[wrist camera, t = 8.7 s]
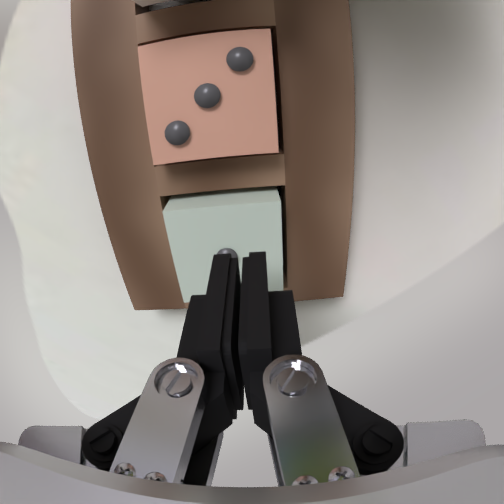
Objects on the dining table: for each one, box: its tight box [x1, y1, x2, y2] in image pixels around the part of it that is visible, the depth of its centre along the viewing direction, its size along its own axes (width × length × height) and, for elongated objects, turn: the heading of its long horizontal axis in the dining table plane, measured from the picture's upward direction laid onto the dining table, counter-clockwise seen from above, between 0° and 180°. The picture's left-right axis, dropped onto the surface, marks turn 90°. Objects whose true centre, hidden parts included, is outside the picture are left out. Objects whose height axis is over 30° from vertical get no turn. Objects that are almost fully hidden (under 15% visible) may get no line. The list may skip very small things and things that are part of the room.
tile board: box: [71, 0, 355, 310], centre depth 11 cm, size 11×20×2 cm, turn 4°
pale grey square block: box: [163, 186, 283, 303], centre depth 14 cm, size 5×5×3 cm
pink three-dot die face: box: [138, 29, 279, 165], centre depth 11 cm, size 5×5×3 cm
